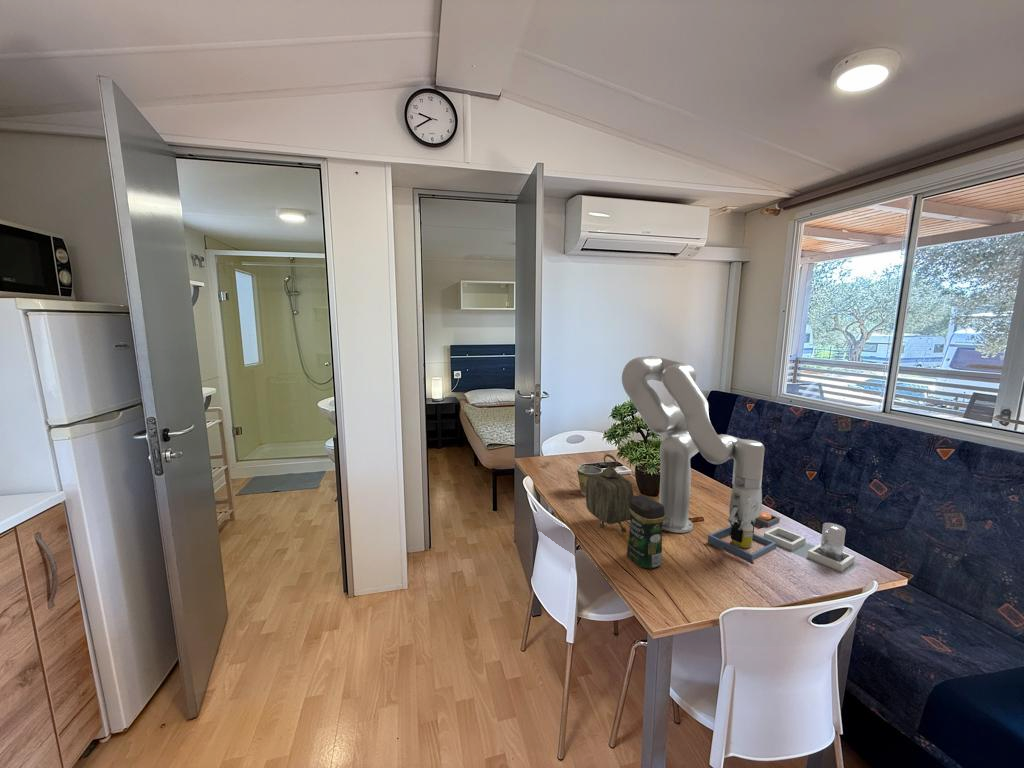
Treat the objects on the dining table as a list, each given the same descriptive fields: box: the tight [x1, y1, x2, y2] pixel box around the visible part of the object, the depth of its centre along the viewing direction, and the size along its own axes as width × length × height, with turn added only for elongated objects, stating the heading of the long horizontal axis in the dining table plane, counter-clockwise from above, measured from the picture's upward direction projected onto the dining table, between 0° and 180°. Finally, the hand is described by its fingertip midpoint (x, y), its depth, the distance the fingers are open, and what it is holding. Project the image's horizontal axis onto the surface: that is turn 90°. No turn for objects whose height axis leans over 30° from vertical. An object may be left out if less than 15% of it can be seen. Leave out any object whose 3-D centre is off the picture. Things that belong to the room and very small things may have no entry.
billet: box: [820, 522, 847, 562], centre depth 113 cm, size 5×5×10 cm
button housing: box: [753, 513, 781, 529], centre depth 137 cm, size 7×7×2 cm
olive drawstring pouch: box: [585, 454, 634, 534], centre depth 132 cm, size 14×9×25 cm, turn 23°
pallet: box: [761, 526, 860, 575], centre depth 118 cm, size 10×22×3 cm, turn 31°
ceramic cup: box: [576, 465, 604, 497], centre depth 162 cm, size 13×10×10 cm
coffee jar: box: [626, 494, 665, 570], centre depth 113 cm, size 10×8×19 cm
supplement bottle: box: [731, 516, 753, 549], centre depth 121 cm, size 5×5×10 cm
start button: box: [757, 510, 772, 522], centre depth 137 cm, size 5×5×2 cm
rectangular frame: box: [707, 525, 777, 564], centre depth 122 cm, size 13×13×2 cm
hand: (742, 537), depth 122 cm, fingers closed on supplement bottle, 5 cm apart
